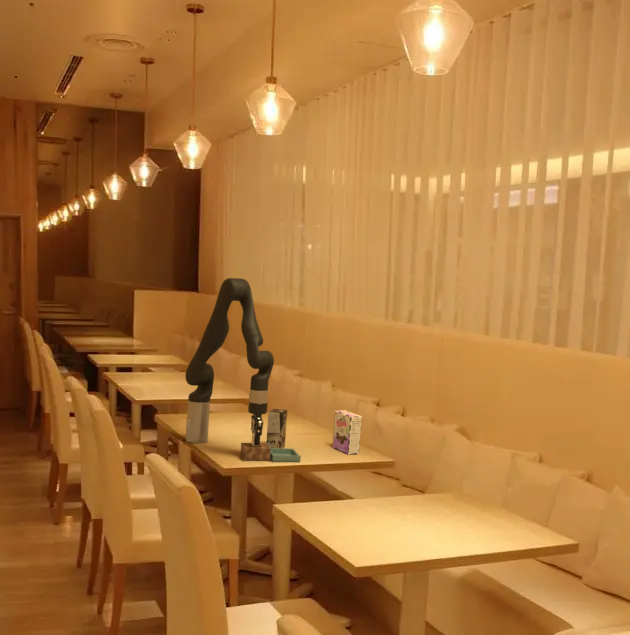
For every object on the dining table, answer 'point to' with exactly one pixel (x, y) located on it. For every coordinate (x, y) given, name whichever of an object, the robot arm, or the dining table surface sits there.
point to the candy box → (347, 432)
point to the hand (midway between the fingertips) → (255, 443)
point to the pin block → (255, 452)
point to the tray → (284, 455)
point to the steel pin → (253, 441)
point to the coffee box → (276, 428)
